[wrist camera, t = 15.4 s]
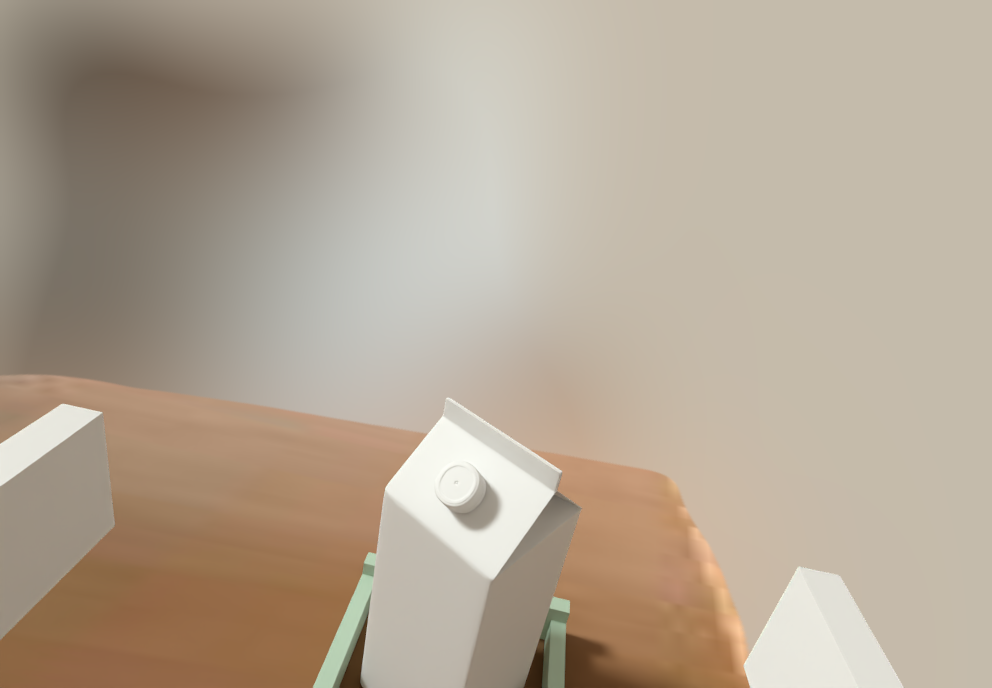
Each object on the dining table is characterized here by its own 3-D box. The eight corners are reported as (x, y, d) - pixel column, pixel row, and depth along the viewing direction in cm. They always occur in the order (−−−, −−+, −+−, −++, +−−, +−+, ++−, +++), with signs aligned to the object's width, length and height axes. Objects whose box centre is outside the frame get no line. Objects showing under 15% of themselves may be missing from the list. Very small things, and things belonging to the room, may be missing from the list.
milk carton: (443, 616, 40) (493, 378, 32) (523, 692, 36) (603, 443, 28) (358, 684, 35) (391, 420, 27) (441, 781, 31) (510, 508, 23)
